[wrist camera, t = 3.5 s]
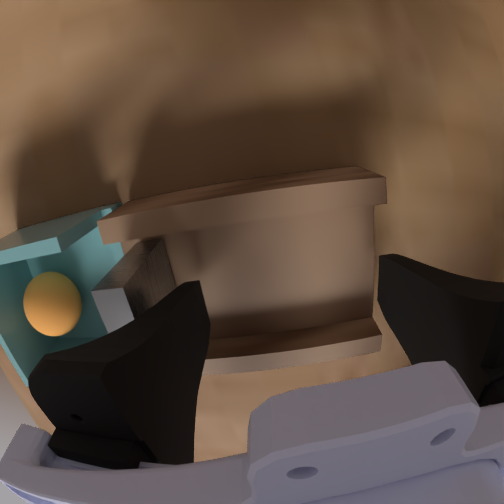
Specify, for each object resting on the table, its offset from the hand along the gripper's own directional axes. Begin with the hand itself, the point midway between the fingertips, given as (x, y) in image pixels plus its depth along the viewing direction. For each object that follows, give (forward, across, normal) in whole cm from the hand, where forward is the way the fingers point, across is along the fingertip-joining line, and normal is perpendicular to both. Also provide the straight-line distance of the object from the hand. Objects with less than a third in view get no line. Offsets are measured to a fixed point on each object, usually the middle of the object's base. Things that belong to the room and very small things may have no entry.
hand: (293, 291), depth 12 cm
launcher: (+4, +2, 0) cm, 4 cm away
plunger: (+1, +6, 0) cm, 6 cm away
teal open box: (+4, +12, 0) cm, 12 cm away
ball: (+1, +12, 0) cm, 13 cm away
